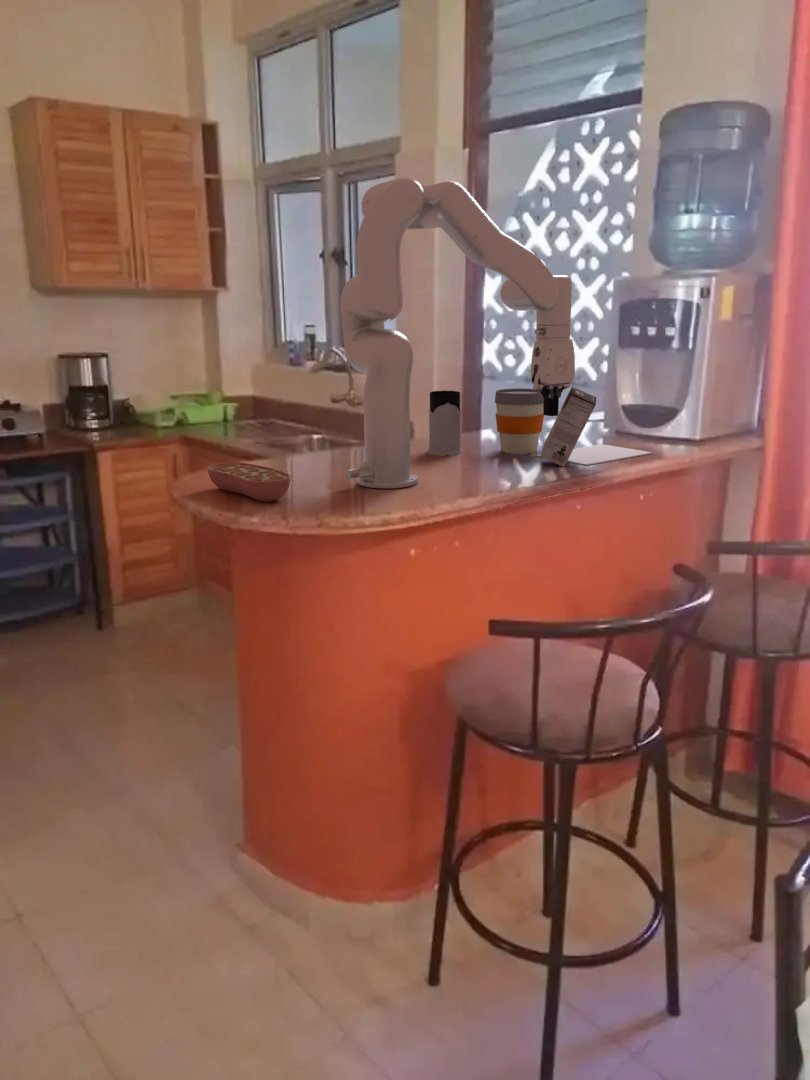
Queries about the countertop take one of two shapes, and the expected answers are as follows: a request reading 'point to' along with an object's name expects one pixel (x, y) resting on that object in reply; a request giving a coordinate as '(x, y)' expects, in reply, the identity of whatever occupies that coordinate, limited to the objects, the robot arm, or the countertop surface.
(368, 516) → the countertop surface
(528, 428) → the reusable coffee cup
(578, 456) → the mat
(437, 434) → the glass holder
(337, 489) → the countertop surface
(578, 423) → the coffee box
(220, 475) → the brown oblong piece
